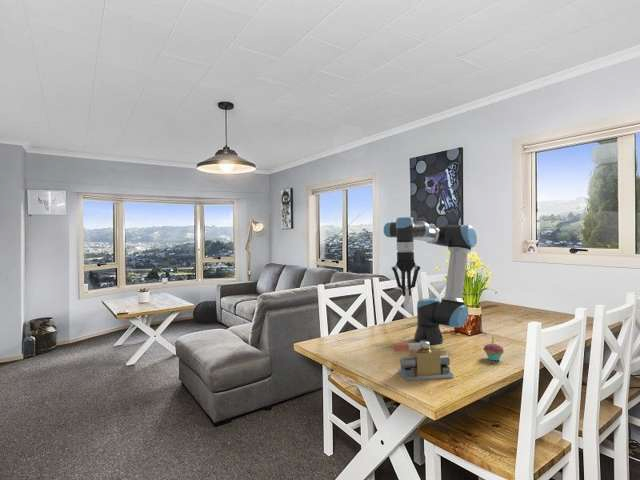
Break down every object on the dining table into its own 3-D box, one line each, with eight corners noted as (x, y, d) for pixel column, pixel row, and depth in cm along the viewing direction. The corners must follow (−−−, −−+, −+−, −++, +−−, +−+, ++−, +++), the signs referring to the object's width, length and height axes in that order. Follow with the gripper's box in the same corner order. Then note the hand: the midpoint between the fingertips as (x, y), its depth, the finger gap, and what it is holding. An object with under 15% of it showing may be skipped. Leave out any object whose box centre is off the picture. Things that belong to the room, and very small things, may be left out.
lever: (427, 347, 154) (427, 340, 154) (431, 350, 150) (431, 343, 150) (392, 349, 152) (392, 342, 152) (395, 352, 148) (395, 345, 148)
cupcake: (502, 363, 163) (502, 337, 163) (482, 360, 167) (482, 334, 167) (504, 358, 170) (504, 332, 170) (484, 355, 175) (484, 330, 175)
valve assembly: (441, 368, 158) (441, 344, 158) (453, 377, 148) (453, 351, 148) (397, 371, 155) (397, 346, 155) (406, 381, 145) (406, 354, 145)
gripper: (392, 252, 160) (394, 305, 161) (421, 251, 160) (423, 304, 160) (389, 251, 167) (391, 301, 168) (417, 250, 167) (419, 300, 168)
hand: (406, 303), depth 164 cm, fingers closed
